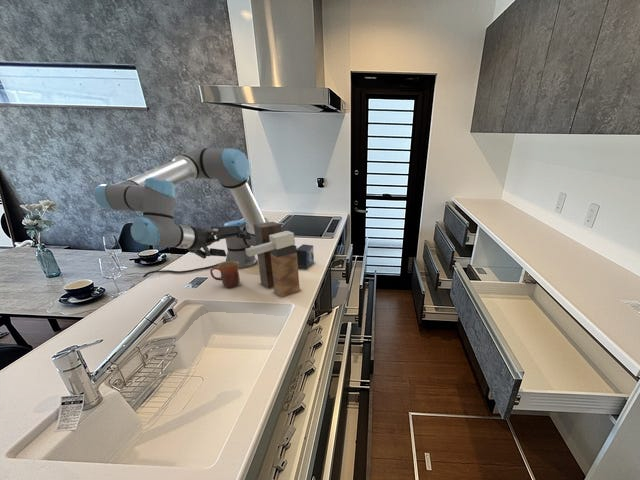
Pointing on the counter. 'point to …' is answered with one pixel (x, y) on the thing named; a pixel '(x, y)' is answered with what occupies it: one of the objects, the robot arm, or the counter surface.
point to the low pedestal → (285, 274)
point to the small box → (305, 256)
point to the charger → (273, 243)
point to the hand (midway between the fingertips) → (236, 244)
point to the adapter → (284, 251)
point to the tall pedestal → (264, 258)
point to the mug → (228, 273)
